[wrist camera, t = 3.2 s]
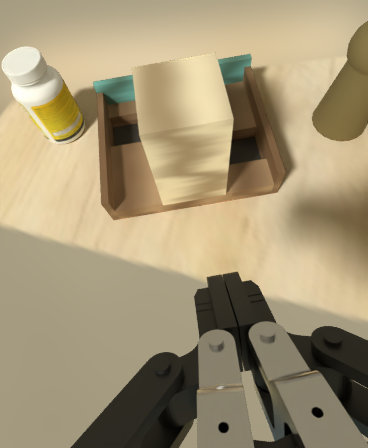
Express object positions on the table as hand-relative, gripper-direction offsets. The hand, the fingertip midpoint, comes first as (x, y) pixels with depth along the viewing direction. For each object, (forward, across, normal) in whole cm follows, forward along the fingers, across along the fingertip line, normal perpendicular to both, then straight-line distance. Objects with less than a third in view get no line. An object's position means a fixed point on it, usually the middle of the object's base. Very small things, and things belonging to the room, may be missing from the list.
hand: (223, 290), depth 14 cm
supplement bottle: (+29, +15, -8) cm, 33 cm away
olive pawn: (+24, -18, -3) cm, 31 cm away
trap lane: (+24, 0, -3) cm, 24 cm away
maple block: (+19, 0, -1) cm, 19 cm away
